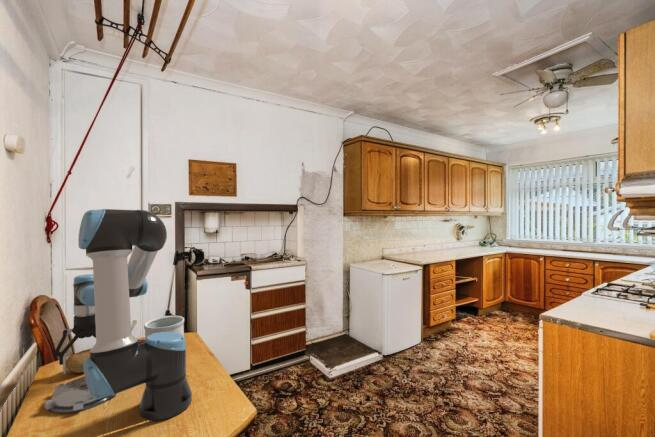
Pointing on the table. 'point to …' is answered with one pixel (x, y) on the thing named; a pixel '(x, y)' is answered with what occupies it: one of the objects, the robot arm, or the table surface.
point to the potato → (77, 361)
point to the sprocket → (71, 396)
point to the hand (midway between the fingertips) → (85, 367)
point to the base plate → (64, 411)
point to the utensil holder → (165, 325)
